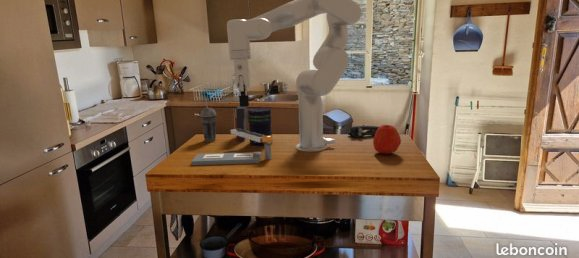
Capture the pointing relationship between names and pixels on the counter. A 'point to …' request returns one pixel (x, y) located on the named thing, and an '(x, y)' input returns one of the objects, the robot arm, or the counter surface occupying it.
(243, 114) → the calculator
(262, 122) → the blue oil drum
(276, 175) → the counter surface
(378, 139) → the apple
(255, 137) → the swing arm
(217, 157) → the label board
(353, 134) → the can opener
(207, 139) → the beverage cup
